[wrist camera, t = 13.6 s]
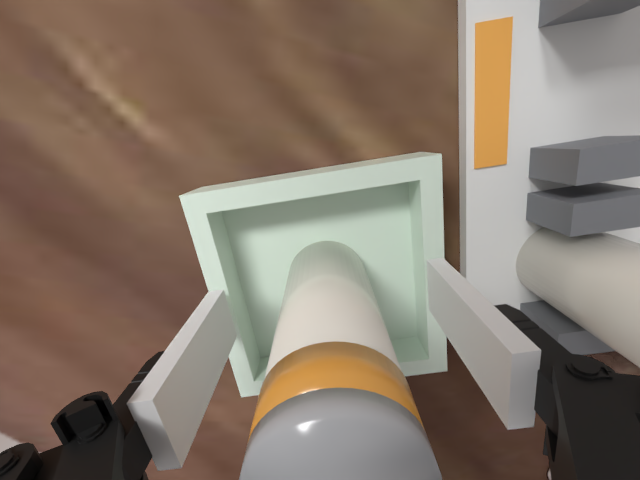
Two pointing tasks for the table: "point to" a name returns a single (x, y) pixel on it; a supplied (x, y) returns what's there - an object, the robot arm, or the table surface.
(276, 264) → the tray
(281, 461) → the marked fuse
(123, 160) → the table surface
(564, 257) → the fuse
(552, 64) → the board
